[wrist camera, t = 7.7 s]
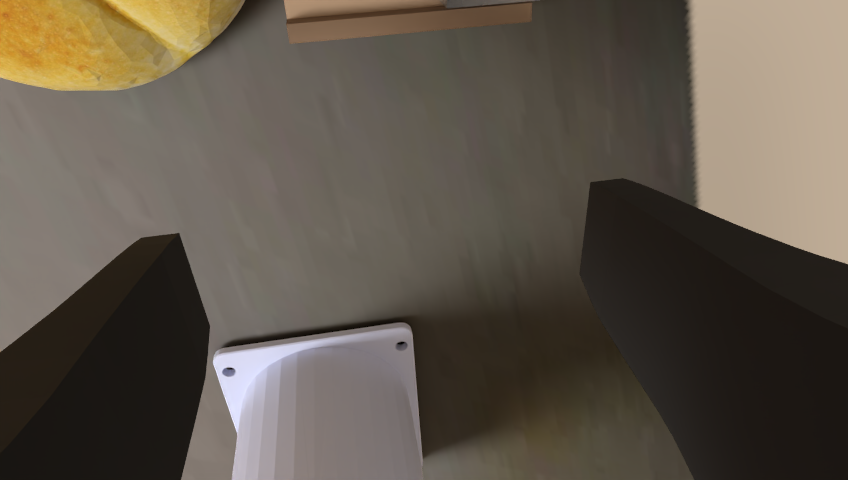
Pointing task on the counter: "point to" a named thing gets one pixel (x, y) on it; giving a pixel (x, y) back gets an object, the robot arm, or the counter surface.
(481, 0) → the jaw
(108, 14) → the bread roll
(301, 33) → the press bed
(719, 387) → the robot arm
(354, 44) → the counter surface
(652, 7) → the counter surface
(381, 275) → the counter surface
